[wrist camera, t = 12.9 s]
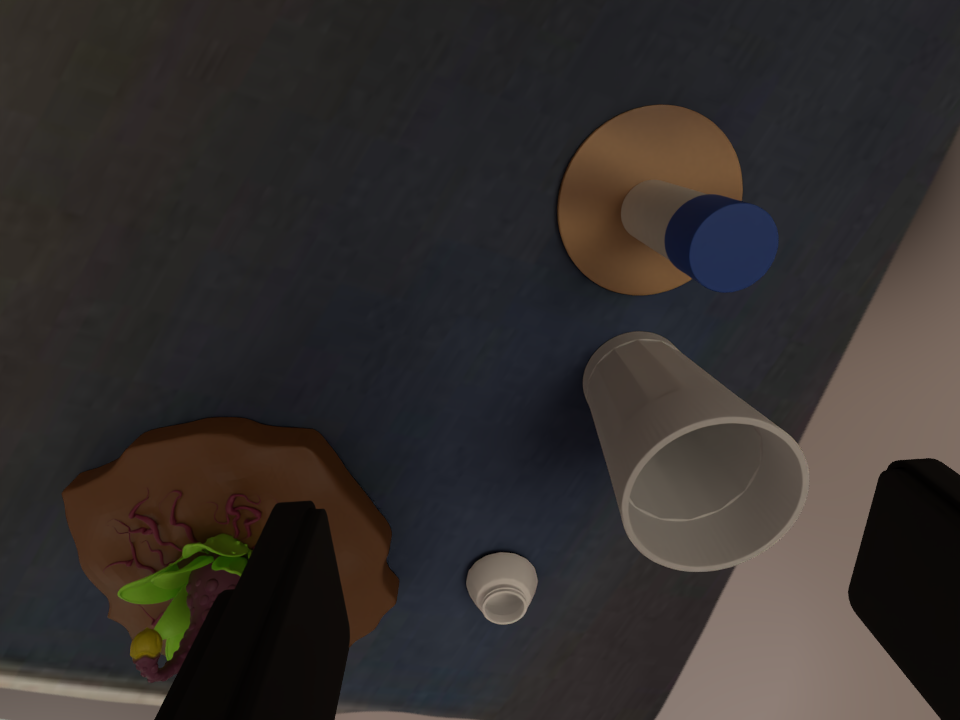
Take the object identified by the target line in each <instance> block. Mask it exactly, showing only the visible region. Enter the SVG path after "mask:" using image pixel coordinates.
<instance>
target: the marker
mask: <svg viewBox="0 0 960 720" xmlns="http://www.w3.org/2000/svg"><path fill="white" fill-rule="evenodd" d="M621 220H622V223H623V226H624V228H625V229H626V231H627V232H628V233H629V234H630V235H632V236H633V237H635V238H636V239H638V240H639V241H641V242H642V243H644V244H645V245H647V246H648V247H650V248H651V249H653V250H654V251H656V252H657V253H659V254H660V255H662V256H663V257H665V258H667V259H668V260H670V261H671V263H672V264H673V265H674V266H675V267H676V268H677V269H679V270H680V271H682V272H683V273H685V274H686V275H688V276H689V277H691V278H692V279H694V280H695V281H697V282H698V283H700V284H701V285H703V286H704V287H706V288H708V289H710V290H712V291H716V292H725V293H727V292H735V291H739V290H742V289H744V288H746V287H749V286H750V285H752V284H754V283H755V282H756V281H758V280H759V279H760V278H761V277H762V276H763V275H764V274H765V273H766V272H767V270H768V269H769V268H770V266H771V264H772V262H773V261H774V258H775V256H776V253H777V249H778V231H777V228H776V225H775V223H774V220H773V219H772V217H771V216H770V215H769V214H768V213H767V212H766V211H765V210H763V209H762V208H760V207H758V206H756V205H753V204H750V203H746V202H743V201H739V200H735V199H732V198H728V197H725V196H721V195H716V194H705V193H702V192H698V191H695V190H692V189H688V188H685V187H681V186H678V185H675V184H671V183H668V182H664V181H661V180H647V181H644V182H641V183H640V184H638V185H636V186H635V187H634V188H632V189H631V190H630V192H629V193H628V194H627V196H626V197H625V199H624V201H623V204H622V208H621Z"/></svg>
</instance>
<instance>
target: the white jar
mask: <svg viewBox="0 0 960 720" xmlns="http://www.w3.org/2000/svg"><path fill="white" fill-rule="evenodd" d="M537 583H538V579H537V575H536V571H535V568H534V566H533V565H532V564H531V563H530V562H529V561H528V560H527V559H526V558H523V557H521V556H519V555H517V554H515V553H504V552H499V553H495V554H490V555H486V556H485V557H483V558H481V559H480V560H478V561H476V562H475V563H474V565H473V566H472V567H471V569H470V570H469V571H468V576H467V581H466V586H467V589H468V592H469V595H470V597H471V599H472V600H473V601H474V603H475V604H476V605H477V607H478V608H479V609H480V610H481V611H482V612H483V614H484V616H485V617H486V618H487V619H488V620H489V621H491V622H493V623H496V624H510V623H514V622H516V621H518V620H519V619H521V618H522V617H523V615H524V614H525V613H526V611H527V607H528V606H529V604H530V602H531V600H532V598H533V596H534V594H535V591H536V587H537Z"/></svg>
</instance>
